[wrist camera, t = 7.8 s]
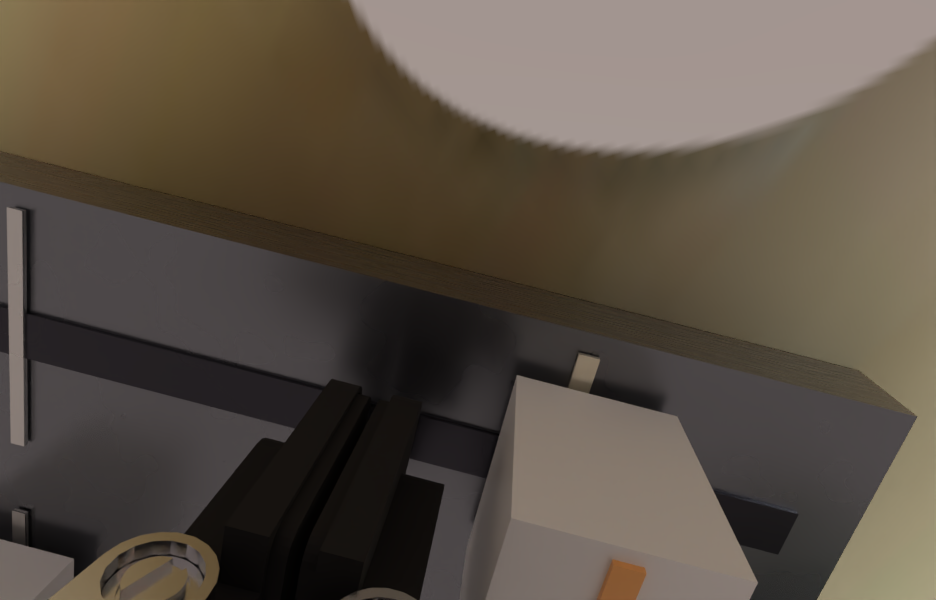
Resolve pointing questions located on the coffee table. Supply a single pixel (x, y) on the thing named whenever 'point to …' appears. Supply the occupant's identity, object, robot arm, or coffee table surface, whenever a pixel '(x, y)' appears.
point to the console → (365, 377)
